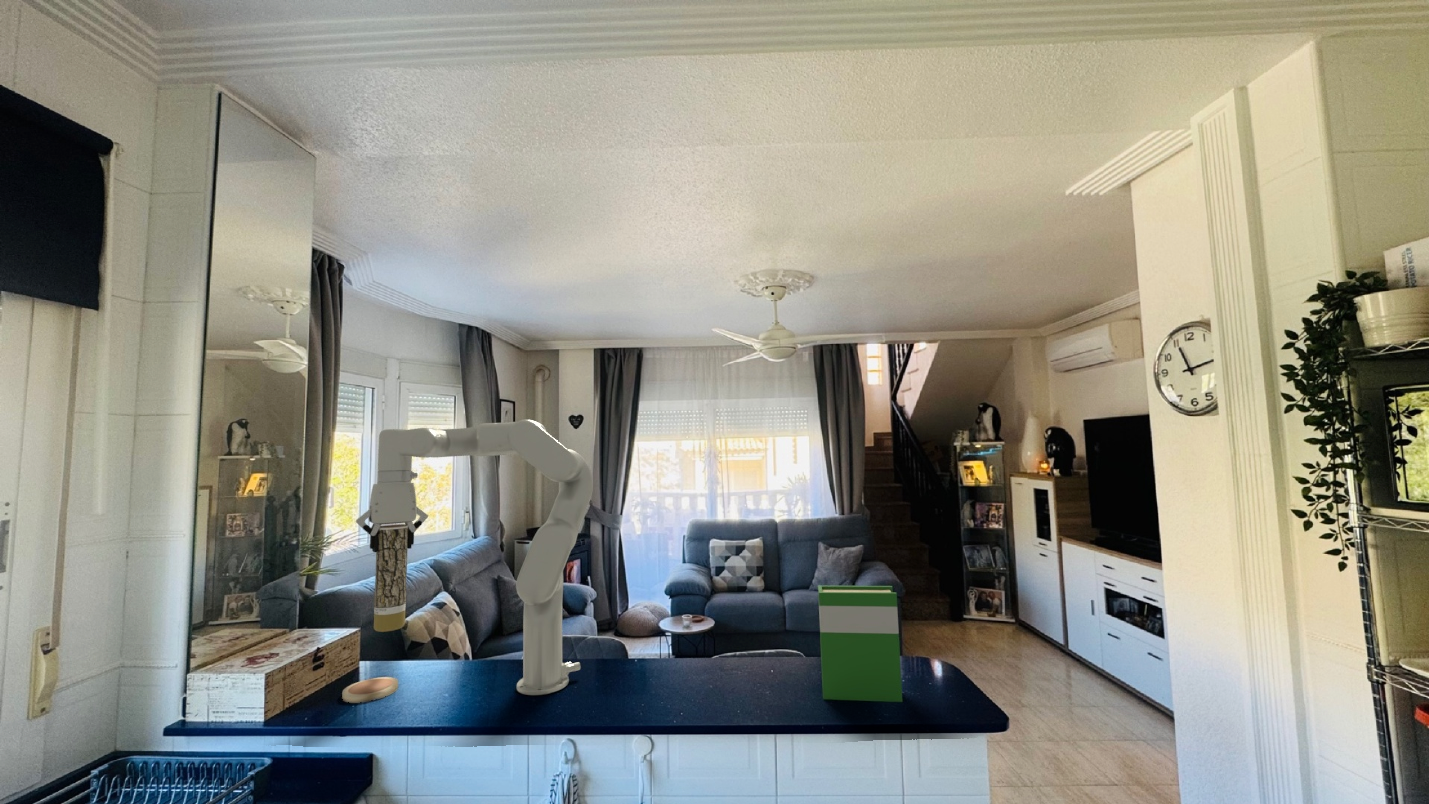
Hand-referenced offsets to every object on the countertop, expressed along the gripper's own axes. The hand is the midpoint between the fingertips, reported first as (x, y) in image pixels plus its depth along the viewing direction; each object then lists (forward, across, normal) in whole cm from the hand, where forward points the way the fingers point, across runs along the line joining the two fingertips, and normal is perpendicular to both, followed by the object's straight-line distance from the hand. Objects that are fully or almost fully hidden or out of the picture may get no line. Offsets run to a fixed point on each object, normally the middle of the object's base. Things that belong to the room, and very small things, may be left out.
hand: (392, 549), depth 145 cm
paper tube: (+19, 0, 0) cm, 19 cm away
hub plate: (+36, +2, -6) cm, 36 cm away
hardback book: (+34, -84, +78) cm, 120 cm away
